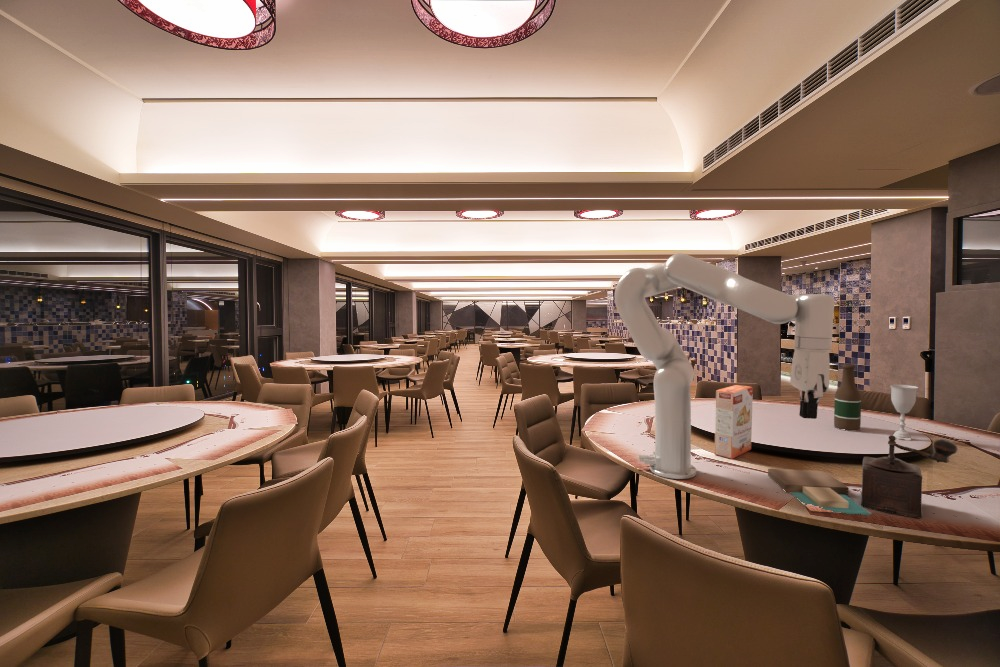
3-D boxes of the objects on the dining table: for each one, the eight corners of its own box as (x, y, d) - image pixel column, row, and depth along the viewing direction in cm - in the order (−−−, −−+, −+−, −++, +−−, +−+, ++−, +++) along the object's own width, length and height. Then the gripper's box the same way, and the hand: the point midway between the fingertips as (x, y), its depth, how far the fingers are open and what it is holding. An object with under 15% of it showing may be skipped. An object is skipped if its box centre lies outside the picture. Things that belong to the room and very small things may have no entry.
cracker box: (733, 460, 135) (734, 392, 133) (713, 455, 139) (714, 389, 138) (753, 449, 143) (753, 386, 142) (733, 445, 148) (734, 383, 147)
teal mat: (810, 511, 101) (810, 510, 101) (790, 493, 111) (790, 491, 111) (870, 515, 99) (870, 513, 99) (845, 496, 109) (845, 494, 108)
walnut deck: (785, 492, 111) (785, 484, 111) (768, 475, 122) (768, 468, 122) (848, 495, 109) (848, 487, 109) (824, 478, 120) (824, 471, 119)
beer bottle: (858, 427, 166) (860, 363, 164) (862, 432, 159) (863, 366, 158) (832, 424, 170) (834, 362, 168) (835, 429, 163) (836, 365, 162)
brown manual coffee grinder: (860, 507, 102) (862, 431, 101) (861, 491, 111) (863, 421, 110) (956, 528, 92) (959, 444, 91) (948, 508, 101) (952, 431, 100)
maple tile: (819, 506, 103) (819, 500, 102) (802, 492, 110) (802, 486, 110) (848, 508, 101) (848, 501, 101) (829, 493, 109) (829, 487, 109)
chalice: (892, 440, 150) (894, 387, 149) (884, 434, 156) (885, 384, 155) (920, 442, 147) (922, 388, 146) (910, 436, 153) (912, 385, 152)
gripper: (783, 341, 117) (779, 409, 118) (809, 347, 102) (804, 424, 104) (815, 341, 115) (810, 411, 117) (846, 348, 101) (841, 427, 102)
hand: (808, 417), depth 110 cm, fingers closed
